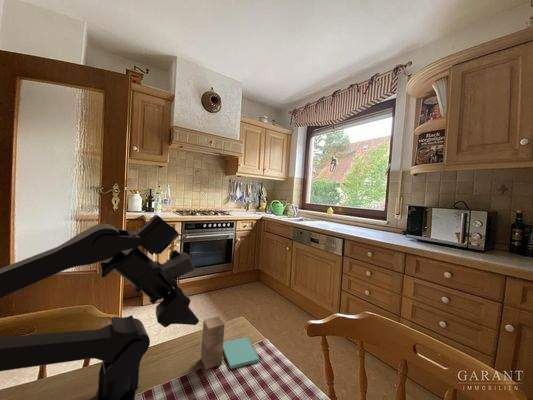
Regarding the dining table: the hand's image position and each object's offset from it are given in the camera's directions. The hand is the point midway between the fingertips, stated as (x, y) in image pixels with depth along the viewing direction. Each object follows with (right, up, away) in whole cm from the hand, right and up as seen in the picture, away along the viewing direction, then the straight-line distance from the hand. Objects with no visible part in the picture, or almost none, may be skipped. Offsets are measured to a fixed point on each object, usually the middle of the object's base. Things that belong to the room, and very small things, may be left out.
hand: (192, 312), depth 55 cm
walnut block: (+4, -14, +3) cm, 15 cm away
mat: (+10, -14, +7) cm, 19 cm away
